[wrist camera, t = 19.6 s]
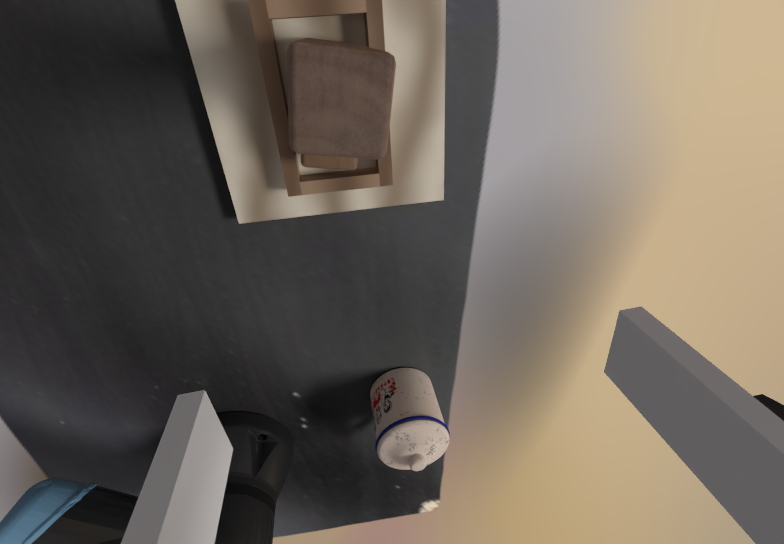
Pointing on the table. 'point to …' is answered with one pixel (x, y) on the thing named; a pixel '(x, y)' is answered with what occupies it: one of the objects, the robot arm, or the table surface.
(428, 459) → the teacup with lid
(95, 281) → the table surface
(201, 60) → the keyed plate
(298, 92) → the wooden block
